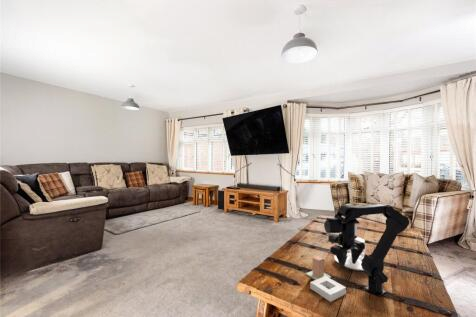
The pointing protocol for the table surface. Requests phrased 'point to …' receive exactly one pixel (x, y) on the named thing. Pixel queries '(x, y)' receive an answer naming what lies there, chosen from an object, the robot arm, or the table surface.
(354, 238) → the robot arm
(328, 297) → the white square frame
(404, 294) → the table surface
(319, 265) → the plug
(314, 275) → the pad
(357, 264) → the candlestick
